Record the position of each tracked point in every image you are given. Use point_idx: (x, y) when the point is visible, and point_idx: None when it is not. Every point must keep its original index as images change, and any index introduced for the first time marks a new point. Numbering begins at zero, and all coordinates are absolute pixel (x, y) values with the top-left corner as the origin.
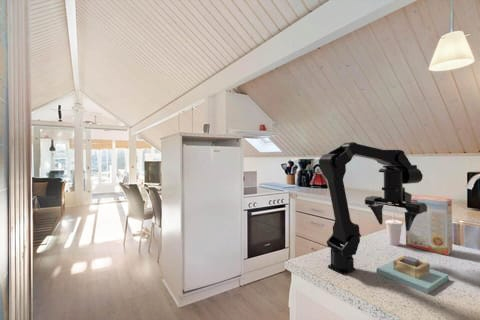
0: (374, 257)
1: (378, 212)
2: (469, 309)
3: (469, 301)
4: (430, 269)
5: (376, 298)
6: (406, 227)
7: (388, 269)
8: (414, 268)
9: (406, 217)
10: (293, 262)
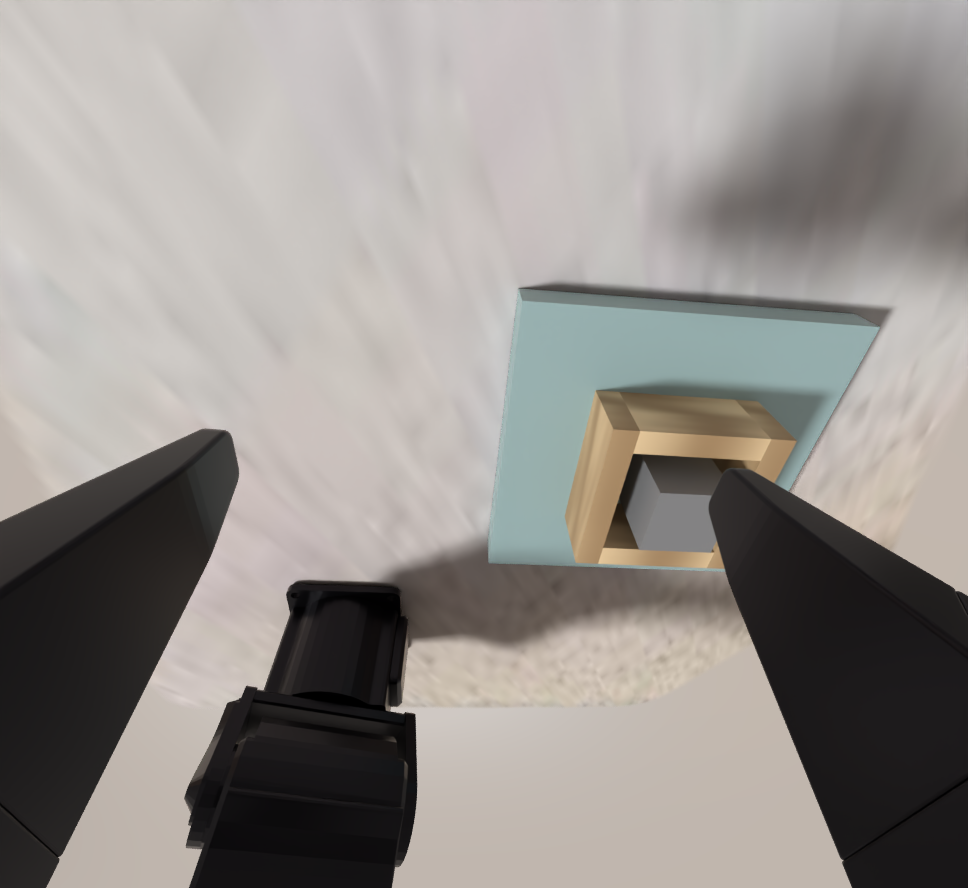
0: (343, 347)
1: (49, 775)
2: None
3: (898, 486)
4: (766, 332)
5: (576, 681)
6: (740, 574)
7: (541, 531)
8: (703, 565)
9: (881, 874)
10: (184, 701)
